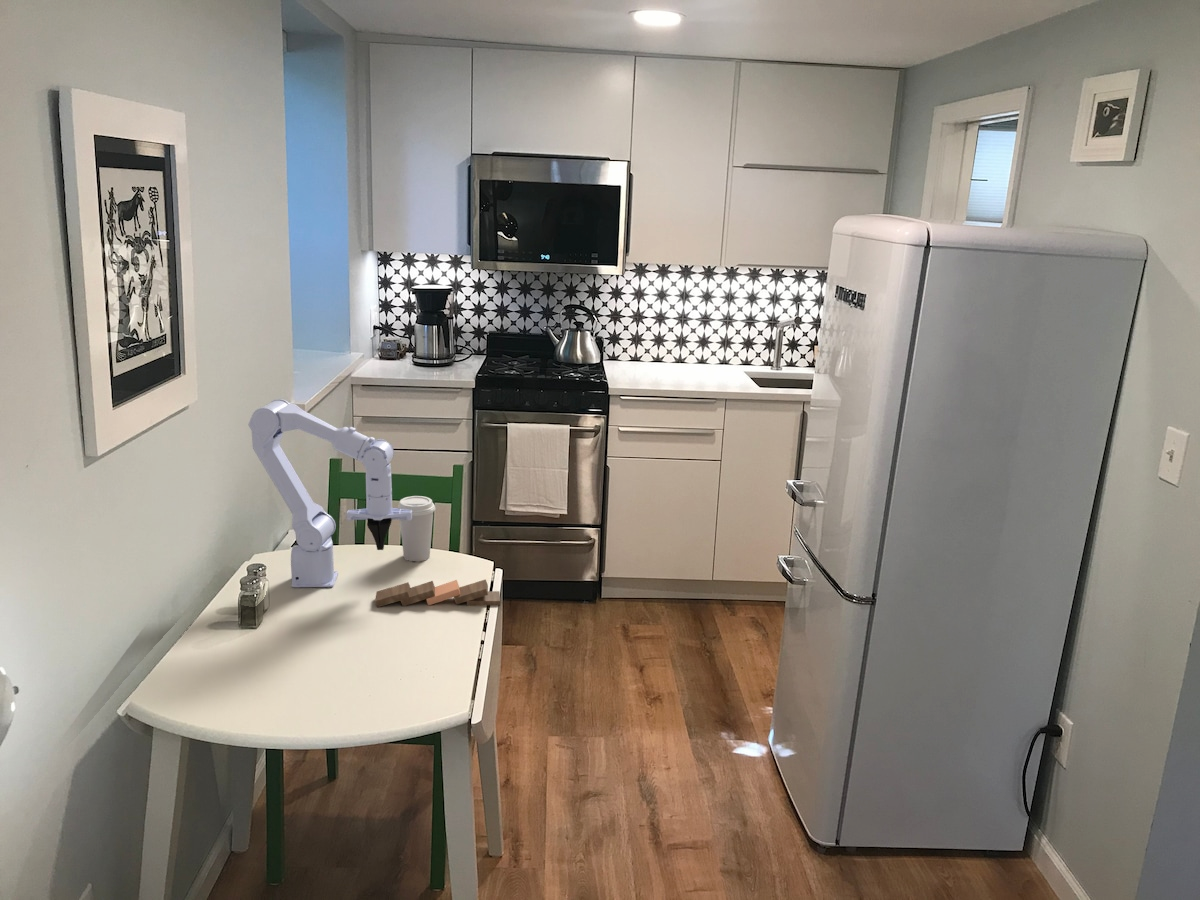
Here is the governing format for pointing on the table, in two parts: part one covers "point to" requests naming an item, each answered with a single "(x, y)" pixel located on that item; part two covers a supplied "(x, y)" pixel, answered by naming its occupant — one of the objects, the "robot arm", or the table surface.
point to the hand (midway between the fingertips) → (380, 548)
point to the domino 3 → (444, 592)
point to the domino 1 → (392, 594)
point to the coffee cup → (417, 527)
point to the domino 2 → (420, 593)
